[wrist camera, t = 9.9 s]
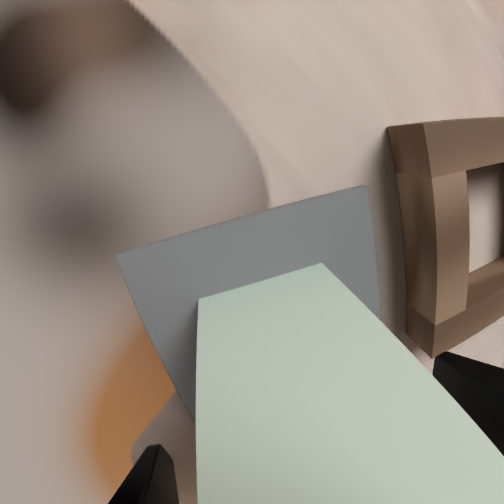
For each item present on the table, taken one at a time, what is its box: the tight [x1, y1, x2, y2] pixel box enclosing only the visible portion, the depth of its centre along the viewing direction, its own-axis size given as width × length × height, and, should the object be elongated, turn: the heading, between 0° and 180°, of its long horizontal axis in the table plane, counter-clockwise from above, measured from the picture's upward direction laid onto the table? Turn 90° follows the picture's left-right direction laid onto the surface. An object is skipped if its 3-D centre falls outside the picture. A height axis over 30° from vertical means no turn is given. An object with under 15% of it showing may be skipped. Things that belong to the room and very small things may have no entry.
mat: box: [116, 185, 381, 423], centre depth 13 cm, size 10×10×1 cm
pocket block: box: [387, 117, 504, 359], centre depth 12 cm, size 10×10×2 cm
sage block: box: [196, 263, 504, 504], centre depth 8 cm, size 5×5×11 cm
